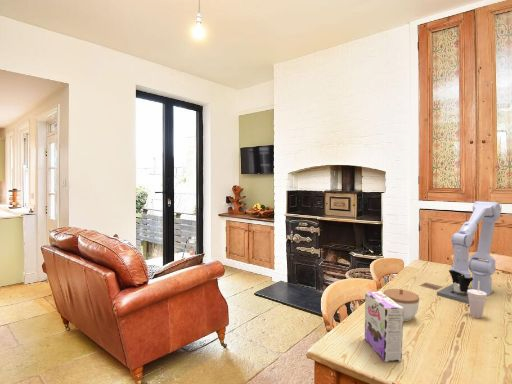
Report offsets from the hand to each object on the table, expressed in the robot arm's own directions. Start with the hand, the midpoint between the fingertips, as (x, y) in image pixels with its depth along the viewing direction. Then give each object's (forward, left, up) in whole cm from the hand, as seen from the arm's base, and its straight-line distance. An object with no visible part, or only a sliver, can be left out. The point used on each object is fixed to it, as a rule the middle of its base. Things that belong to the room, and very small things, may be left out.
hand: (459, 288), depth 142 cm
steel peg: (0, 0, -4) cm, 4 cm away
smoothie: (+16, +11, -5) cm, 20 cm away
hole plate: (-2, 0, -4) cm, 5 cm away
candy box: (+69, +1, -5) cm, 69 cm away
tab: (-4, -14, -4) cm, 15 cm away
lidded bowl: (+41, -7, -5) cm, 42 cm away
